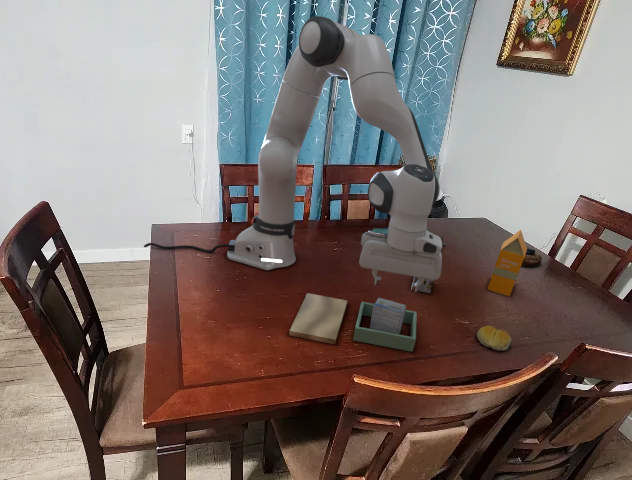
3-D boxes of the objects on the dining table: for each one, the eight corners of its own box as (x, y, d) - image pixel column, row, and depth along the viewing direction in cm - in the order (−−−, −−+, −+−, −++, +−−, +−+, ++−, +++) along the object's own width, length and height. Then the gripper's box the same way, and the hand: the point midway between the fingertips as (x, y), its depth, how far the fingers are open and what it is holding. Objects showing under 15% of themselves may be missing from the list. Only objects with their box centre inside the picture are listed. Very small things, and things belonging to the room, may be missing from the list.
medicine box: (400, 331, 120) (407, 304, 116) (396, 340, 117) (403, 312, 112) (373, 323, 122) (378, 296, 117) (368, 331, 118) (373, 304, 114)
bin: (353, 340, 114) (355, 327, 112) (359, 313, 126) (361, 301, 123) (412, 351, 113) (415, 339, 111) (413, 323, 125) (416, 311, 122)
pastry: (524, 253, 180) (529, 240, 177) (543, 267, 171) (549, 253, 168) (502, 254, 177) (507, 240, 173) (520, 268, 167) (526, 254, 164)
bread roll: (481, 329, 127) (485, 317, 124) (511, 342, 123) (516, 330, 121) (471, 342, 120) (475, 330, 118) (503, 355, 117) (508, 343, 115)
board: (289, 335, 112) (289, 330, 112) (306, 297, 129) (307, 293, 128) (335, 344, 112) (335, 339, 111) (346, 304, 128) (347, 300, 128)
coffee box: (431, 294, 141) (443, 247, 132) (411, 289, 141) (422, 243, 133) (432, 281, 148) (443, 236, 140) (413, 277, 149) (423, 232, 140)
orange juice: (513, 286, 153) (533, 232, 142) (509, 296, 146) (530, 240, 135) (490, 279, 155) (509, 226, 145) (486, 289, 148) (505, 234, 138)
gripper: (361, 234, 103) (353, 286, 110) (448, 249, 101) (434, 300, 109) (364, 225, 108) (356, 274, 115) (447, 239, 107) (434, 288, 114)
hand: (395, 287), depth 112 cm, fingers open, 8 cm apart
